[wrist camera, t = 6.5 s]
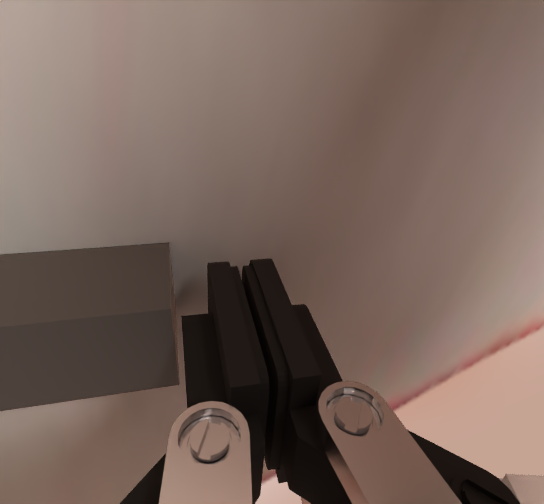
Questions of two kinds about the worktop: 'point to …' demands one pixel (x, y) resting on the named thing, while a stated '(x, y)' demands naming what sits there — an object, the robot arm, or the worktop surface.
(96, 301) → the plug
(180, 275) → the worktop surface
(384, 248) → the worktop surface
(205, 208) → the worktop surface
